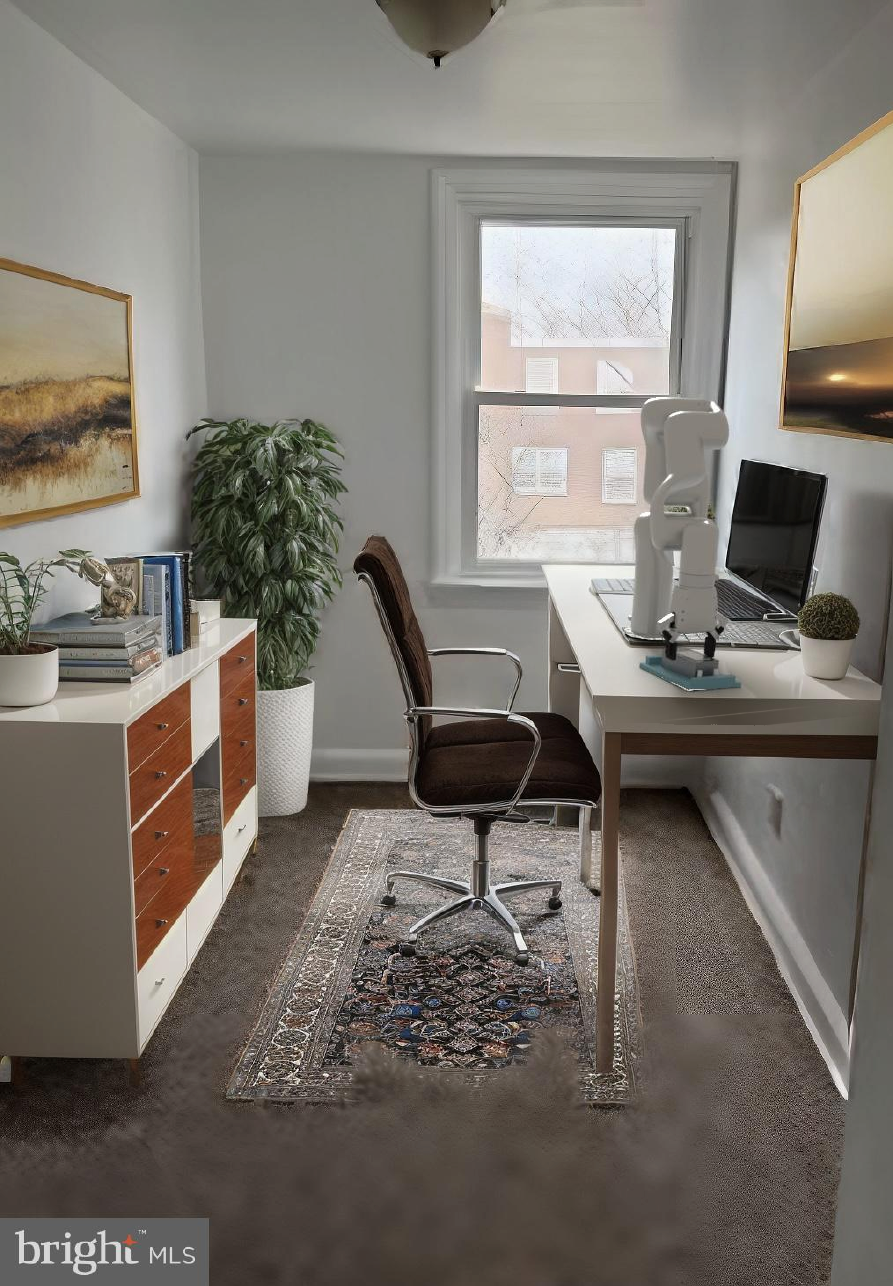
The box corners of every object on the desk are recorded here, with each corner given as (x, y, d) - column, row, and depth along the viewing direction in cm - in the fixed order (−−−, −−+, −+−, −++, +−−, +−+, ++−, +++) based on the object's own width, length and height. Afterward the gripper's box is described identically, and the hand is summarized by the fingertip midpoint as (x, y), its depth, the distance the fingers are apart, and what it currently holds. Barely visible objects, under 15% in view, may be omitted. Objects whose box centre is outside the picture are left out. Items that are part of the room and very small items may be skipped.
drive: (661, 666, 232) (662, 648, 231) (683, 664, 234) (684, 646, 233) (694, 680, 221) (696, 662, 220) (717, 678, 224) (718, 659, 223)
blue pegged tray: (639, 667, 235) (640, 652, 234) (689, 663, 239) (690, 648, 238) (688, 691, 217) (689, 675, 216) (740, 687, 221) (742, 671, 220)
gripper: (720, 575, 229) (713, 650, 233) (652, 579, 223) (646, 655, 228) (741, 582, 222) (733, 659, 227) (670, 585, 217) (664, 664, 221)
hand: (689, 657), depth 227 cm, fingers open, 9 cm apart
